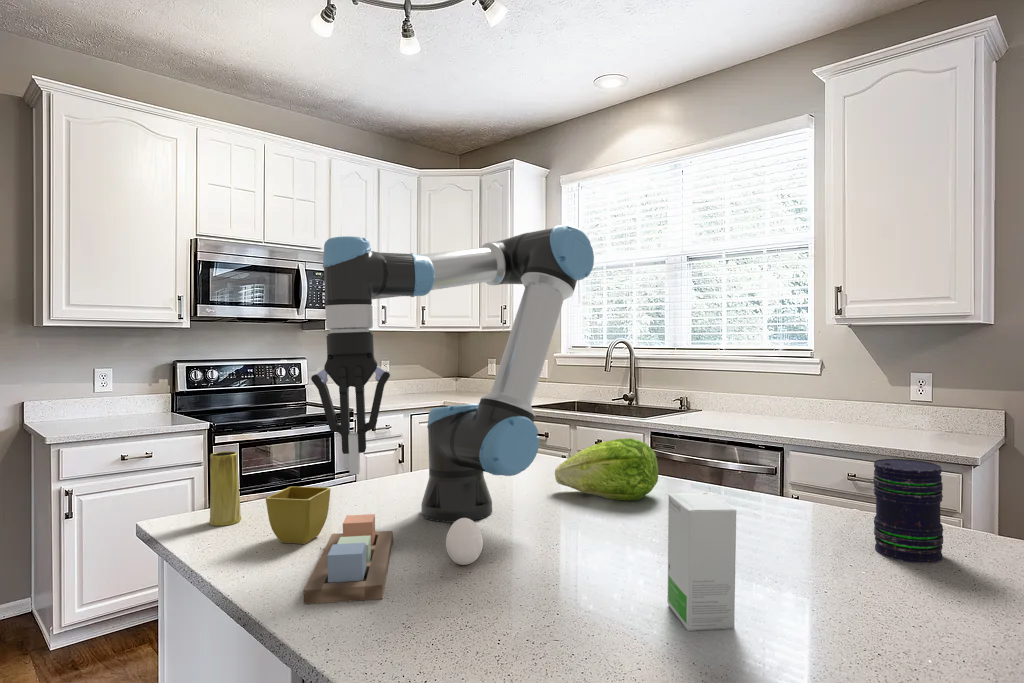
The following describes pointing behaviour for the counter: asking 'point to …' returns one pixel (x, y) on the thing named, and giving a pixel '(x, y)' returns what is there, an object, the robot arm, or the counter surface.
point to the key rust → (359, 526)
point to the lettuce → (611, 470)
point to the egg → (464, 541)
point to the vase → (224, 489)
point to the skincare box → (701, 560)
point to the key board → (351, 591)
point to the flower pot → (298, 513)
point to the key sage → (359, 540)
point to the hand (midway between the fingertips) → (355, 472)
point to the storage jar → (908, 510)
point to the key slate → (346, 562)
